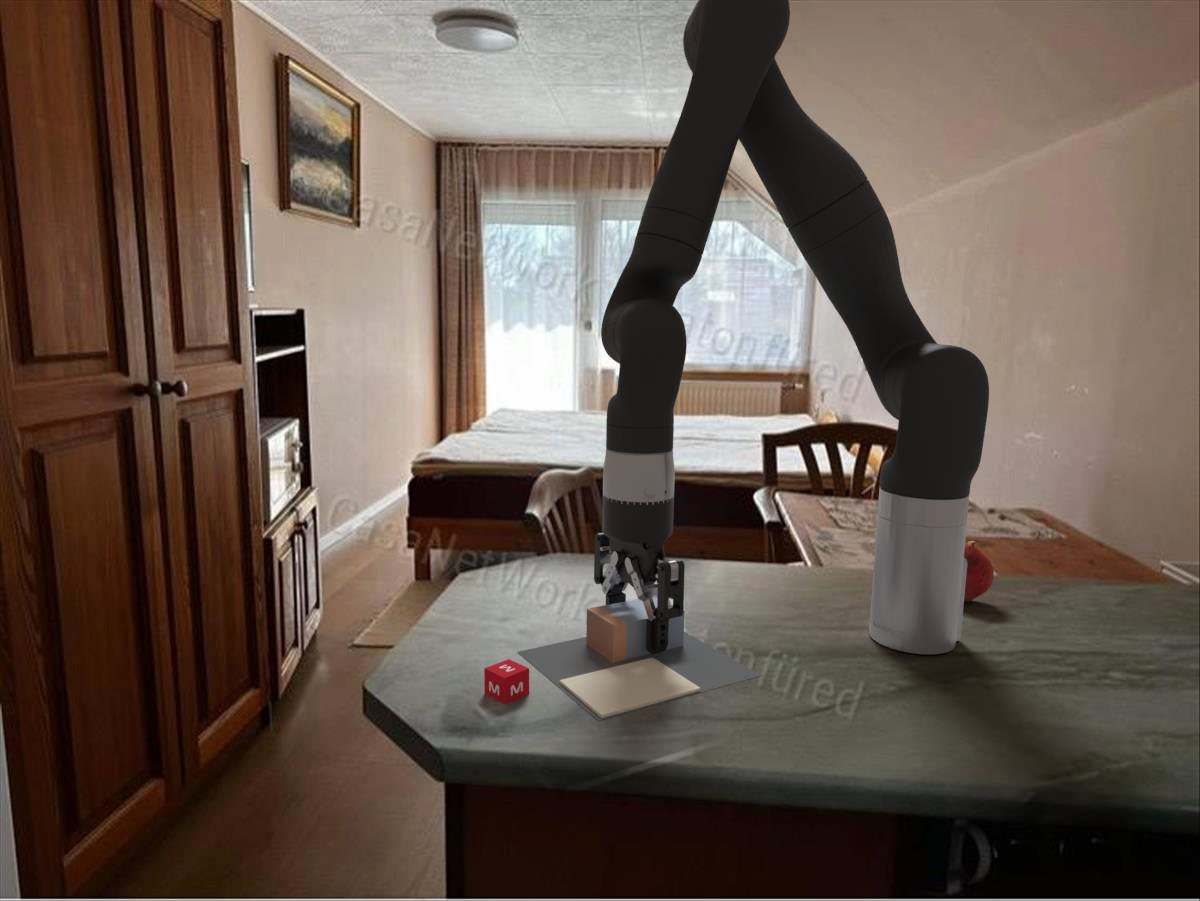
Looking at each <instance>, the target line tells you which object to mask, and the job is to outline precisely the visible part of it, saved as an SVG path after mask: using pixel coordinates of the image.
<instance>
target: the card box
mask: <svg viewBox="0 0 1200 901" xmlns="http://www.w3.org/2000/svg"><path fill="white" fill-rule="evenodd" d="M652 599H653V602H654V605H655V608H657V597H654V598H652ZM671 605H673V603H671ZM647 619H648V616H647V613H646V610H645V607H644V603H643V601H641V600H639V599H638V598H636V599H632V600H631V599H630V600H626V601H625V602H620V603H615V604H609V605H606V604H605V605H601V606H600V605H599V606H594V607H589V608H586V636H585V637H586V644H587V645H588V646H590V647H591V648H593V649H594V650H596V651H597V652H598V653H600V654H601V655H603V656H604V657H605V658H607V659H608V660H610V661H611V662H613V663H614V662H619V661H623V660H626V659H630V658H634V657H639V656H643V655H647V654H651V653H649V652H648V651H647V650H646V629H647ZM684 632H685V610H684V612H683V615H682V616H680V617H675V618H671V619H669V629H668V646H667V649H666V650H668V649H672V648H677V647H681V646H683V641H684Z"/></svg>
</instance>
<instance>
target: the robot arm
mask: <svg viewBox="0 0 1200 901" xmlns="http://www.w3.org/2000/svg"><path fill="white" fill-rule="evenodd" d="M790 16H791V10H790V2H789V0H697V2H696V4H695V6H694V8H693V9H692V11H691V13H690V15H689V17H688V18H687V21H686V24H685V27H684V30H683V35H682V36H683V37H682V42H683V44H682V45H683V47H682V48H683V52H684V53H683V54H684V57H685V60H686V63H687V65H688V67H689V70H690V71H691V73H692V74H691V79H690V84H689V86H688V89H687V90H688V91H687V94H686V96H685V101H684V104H683V106H682V107H683V108H682V110H681V112H680V115H679V118H678V121H677V124H676V127H675V129H674V132H673V134H672V137H671V139H670V141H669V143H668V145H667V148H666V151H665V153H664V155H663V158H662V160H661V162H660V164H659V167H658V170H657V173H656V175H655V178H654V180H653V183H652V184H651V185H652V186H651V188H650V192H649V193H648V197H647V200H646V203H645V206H644V209H643V213H642V216H641V218H640V222H639V225H638V229H637V232H636V236H635V239H634V243H633V248H632V250H631V251H632V252H631V254H630V256H629V258H628V261H627V262H626V265H625V266H624V268H623V269H622V272H621V274H620V276H619V278H618V279H617V282H616V285H615V287H614V288H613V291H612V293H611V295H610V298H609V300H608V303H607V305H606V308H605V311H604V314H603V318H602V323H601V329H600V336H601V337H600V338H601V343H602V347H603V349H604V352H606V354H607V356H608V357H609V358H611V359H612V360H613V361H614V362H616V363H617V364H619V368H618V369H619V371H618V378H617V379H618V380H617V381H618V382H617V389H616V390H617V391H616V393H615V394H614V395H612V396H611V398H610V399H609V401H608V405H607V409H606V419H605V420H606V425H605V426H606V427H605V428H606V431H605V432H606V436H605V437H606V438H605V441H606V442H605V448H606V449H605V455H604V456H605V458H604V463H603V472H602V521H601V522H602V524H601V525H602V526H601V530H602V532H597V533H595V535H594V558H593V560H594V561H593V566H594V568H593V580H594V583H595V584H596V585H601V591H602V593H603V594H604V595H605V605H609V604H615V603H620V602H625V601H627V598H626V597H627V596H626V595H627V594H626V593H624V592H625V591H626V589H627V587H628V585H630V586H631V587H632V588H633V589H634V588H635V590H634V591H635V595H636V597H637V599H639V600H641V601H643V603H644V607H645V610H646V613H647V616H648V619H647V629H646V650H647V651H648V652H649V653H651V654H656V653H660V652H664V651H665V650H666V649H667V646H668V629H669V619H671V618H675V617H680V616H682V615H683V612H684V611H685V610H684V608H685V607H684V606H685V605H684V603H685V600H684V599H685V568H686V567H685V563H684V560H683V559H669V558H667V556H666V552H665V547H664V546H665V542H666V541H667V539H669V538H670V537H671V536H672V535H673V533H674V511H675V510H674V509H675V507H674V506H675V505H674V504H675V478H676V476H675V473H676V472H675V471H676V470H675V461H674V460H675V459H674V431H675V430H674V429H675V428H674V427H675V425H674V423H675V422H674V421H675V420H674V418H675V415H674V413H675V412H674V411H675V404H676V402H677V397H678V395H679V392H680V391H679V390H680V386H681V381H682V377H683V373H684V367H685V364H686V363H685V362H686V357H687V356H686V355H687V341H688V340H687V330H686V325H685V322H684V320H683V317H682V315H681V314H680V312H679V310H678V309H677V308H676V307H675V306H674V304H675V301H676V299H677V296H678V294H679V293H680V290H681V289H682V287H683V286H684V285H685V284H686V283H688V282H689V281H691V280H692V279H693V278H694V276H695V275H696V273H697V271H698V269H699V266H700V264H701V261H702V258H703V255H704V251H705V248H706V245H707V242H708V239H709V236H710V233H711V229H712V225H713V222H714V219H715V216H716V212H717V208H718V206H719V202H720V199H721V195H722V192H723V189H724V186H725V182H726V179H727V176H728V172H729V169H730V167H731V166H730V165H731V162H732V160H733V157H734V153H735V150H736V148H737V145H738V142H740V144H741V145H742V147H743V148H744V150H745V153H746V155H747V156H748V158H749V160H750V162H751V164H752V166H753V167H754V170H755V172H756V173H757V176H758V177H759V178H760V181H761V182H762V184H763V186H764V188H765V189H766V192H767V193H768V195H769V197H770V198H771V200H772V202H773V204H774V206H775V208H776V210H777V211H778V214H779V215H780V217H781V219H782V221H783V223H784V225H785V227H786V228H787V230H788V232H789V234H790V236H791V238H792V240H793V242H794V243H795V244H796V247H797V249H798V250H799V252H800V253H801V255H802V257H803V258H804V260H805V261H806V264H808V267H809V268H810V270H811V271H812V273H813V274H814V277H816V279H817V282H818V283H819V285H820V286H821V288H822V290H823V291H824V293H825V294H826V296H827V298H828V300H829V301H830V303H831V304H832V306H833V307H834V309H835V310H836V312H837V313H838V315H839V317H840V318H841V320H842V322H843V323H844V324H845V326H846V328H847V329H848V331H849V333H850V335H851V337H852V340H853V341H854V344H855V346H856V348H857V351H858V353H859V355H860V357H861V360H862V363H863V365H864V366H865V369H866V371H867V374H868V376H869V378H870V379H869V380H870V382H871V384H872V386H873V388H874V391H875V393H876V395H877V397H878V400H879V401H880V403H881V405H882V406H883V408H884V409H885V411H886V412H887V413H888V414H890V415H891V416H892V417H893V419H895V420H897V421H898V422H897V424H898V425H897V432H896V442H895V447H894V451H893V453H892V455H891V456H890V457H889V458H888V459H887V460H885V461H884V462H883V463H882V465H881V468H880V475H879V491H878V492H879V493H878V501H877V502H878V504H877V519H876V532H875V543H874V544H875V545H874V546H875V548H874V561H873V574H872V585H871V586H872V587H871V601H870V613H869V614H870V616H869V623H868V624H869V627H868V628H869V629H868V635H869V636H870V637H871V639H872V640H874V641H875V642H876V643H878V644H880V645H882V646H884V647H887V648H889V649H892V650H896V651H899V652H904V653H909V654H917V655H940V654H945V653H949V652H951V651H953V650H954V649H955V648H956V644H957V641H961V634H962V627H963V626H962V624H963V615H964V603H965V601H964V594H965V584H966V573H967V560H966V559H965V558H964V550H965V546H966V540H967V539H966V536H967V527H968V526H967V525H968V513H969V503H970V491H971V484H972V480H973V478H974V477H975V475H976V474H977V472H978V471H979V470H978V469H979V467H980V464H981V460H982V454H983V447H984V440H985V436H986V435H985V433H986V428H987V426H986V425H987V419H988V411H989V401H990V383H989V378H988V377H989V376H988V373H987V370H986V368H985V365H984V364H983V362H982V361H981V359H980V358H979V357H978V356H977V355H976V354H975V353H973V351H970V350H969V349H966V348H964V347H961V346H959V345H958V346H957V345H952V344H941V343H937V342H936V340H935V338H934V337H933V336H932V335H931V333H930V332H929V330H928V329H927V327H926V326H925V325H924V323H923V321H922V319H921V318H920V316H919V314H918V313H917V311H916V310H915V308H914V306H913V305H912V302H911V300H910V299H909V296H908V294H907V291H906V288H905V286H904V282H903V277H902V270H901V266H900V260H899V256H898V250H897V244H896V239H895V235H894V230H893V228H892V223H891V221H890V219H889V217H888V215H887V213H886V210H885V208H884V207H883V205H882V202H881V201H880V199H879V197H878V195H877V193H876V191H875V190H874V188H873V186H872V184H871V183H870V180H869V179H868V177H867V175H866V173H865V172H864V170H863V169H862V167H861V166H860V164H859V163H858V162H857V161H856V159H855V158H854V157H853V156H852V154H850V153H849V152H848V151H847V149H845V147H843V146H842V145H841V144H840V143H839V142H838V141H837V140H836V139H835V138H833V137H832V136H831V135H830V134H829V133H828V132H826V131H825V130H824V129H823V128H822V127H820V126H819V125H818V124H817V123H816V122H815V121H814V120H813V119H812V118H811V117H809V115H808V114H807V113H806V112H805V111H804V109H803V108H802V107H801V105H800V104H799V102H798V101H797V100H796V98H795V97H794V94H793V93H792V90H791V89H790V87H789V85H788V83H787V81H786V79H785V77H784V75H783V73H782V71H781V69H780V67H779V65H778V62H777V60H776V55H777V53H778V52H779V50H780V49H781V47H782V46H783V44H784V41H785V39H786V36H787V33H788V30H789V27H790V18H791V17H790ZM605 564H608V565H607V567H606V569H605V572H604V565H605ZM653 584H658V587H657V588H652V589H647V588H646V587H649V586H652V585H653ZM672 596H673V599H672V602H671V601H670V600H671V599H670V598H669V597H672ZM654 597H657V608H655V605H654V602H653V599H652V598H654ZM671 604H673V605H671Z"/></svg>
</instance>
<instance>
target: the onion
mask: <svg viewBox="0 0 1200 901" xmlns="http://www.w3.org/2000/svg"><path fill="white" fill-rule="evenodd" d="M978 544H979V543H977V542H976V541H974V540H970V541H967V544H965V550H964V558H965V559H966V560H967V573H966V584H965V594H964V602H972V600H974V599H977V598H979V597H981V596H982V595H983V594H985V593H986V592H988V591H989V590H990V588H991V587H992V585H993V582H994V578H995V576H994V574H995V573H994V568H993V564H992V562H991V561H990V559H989V558H988V557H987V555H986V554H984V553H983V552H982V551H981V550H979V549H978V547H977V546H978Z"/></svg>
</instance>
